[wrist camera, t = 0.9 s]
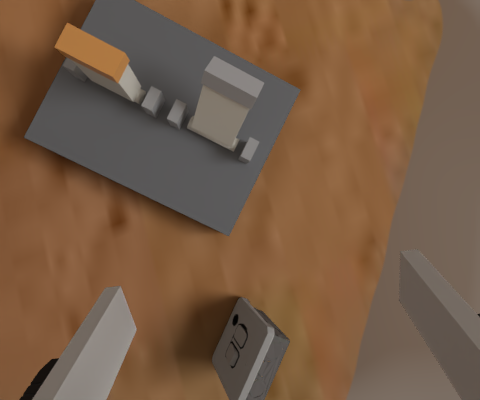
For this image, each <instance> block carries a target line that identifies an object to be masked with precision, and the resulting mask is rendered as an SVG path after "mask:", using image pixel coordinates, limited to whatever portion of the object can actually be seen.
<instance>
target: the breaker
mask: <svg viewBox="0 0 480 400" xmlns="http://www.w3.org/2000/svg"><path fill="white" fill-rule="evenodd" d="M201 84H203V87H202V90H201V94H200V98H199V101H198V105H197V108H196V112H195V115H194V116H192V117H191V119H190V121H189V123H188V126H187V128H188V129H190V130H191V131H193V132H195V133H197V134H199V135H201V136H203V137H205V138H207V139H209V140H211V141H213V142H215V143H217V144H219V145H221V146H223V147H225V148H227V149H229V150H231V151H233V152H234V150H235V148H236V146H237V144H238V142H239V140H240V139H238V138H236V136H237V134H238V132H239V130H240V128H241V126H242V124H243V122H244V120H245V118H246V116H247V113H248V111H249V109H252V107H253V105H254V103H255V101H256V99H257V97H258V95H259V93H260V91H261V89H262V87H263V85H264V82H262V81H260V80H258V79H257V78H255V77H253V76H251V75H249V74H247V73H245V72H243V71H242V70H240V69H238V68H236V67H234V66H232V65H230V64H228V63H227V62H225V61H223V60H221V59H219V58H217V57H215V56H214V57H213V58H212V60H211V61H210V63H209V64H208V66H207V67H206V69H205V70H204V73H203V77H202V81H201Z"/></svg>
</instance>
